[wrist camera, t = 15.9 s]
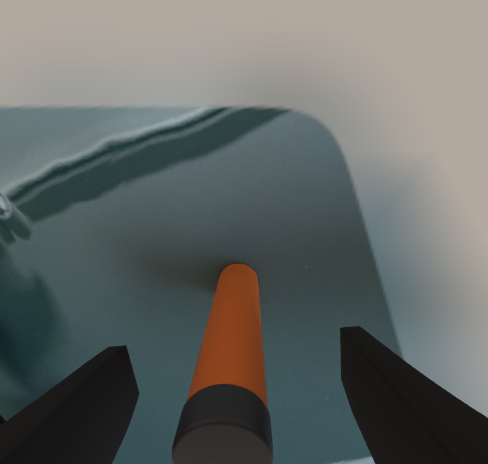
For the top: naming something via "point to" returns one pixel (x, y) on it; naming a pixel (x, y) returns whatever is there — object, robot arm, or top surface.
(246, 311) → the marker
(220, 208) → the top surface
